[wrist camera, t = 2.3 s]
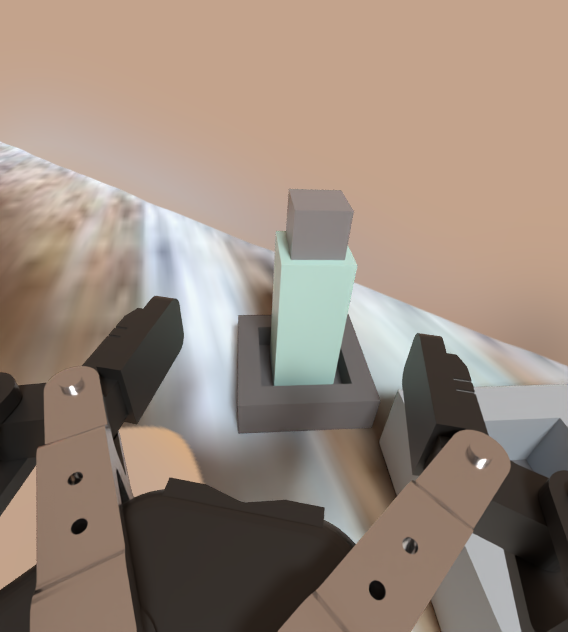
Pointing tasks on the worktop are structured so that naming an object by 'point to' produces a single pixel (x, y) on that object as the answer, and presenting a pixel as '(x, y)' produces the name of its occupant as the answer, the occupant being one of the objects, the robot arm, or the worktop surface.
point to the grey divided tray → (478, 554)
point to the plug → (311, 288)
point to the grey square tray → (301, 387)
